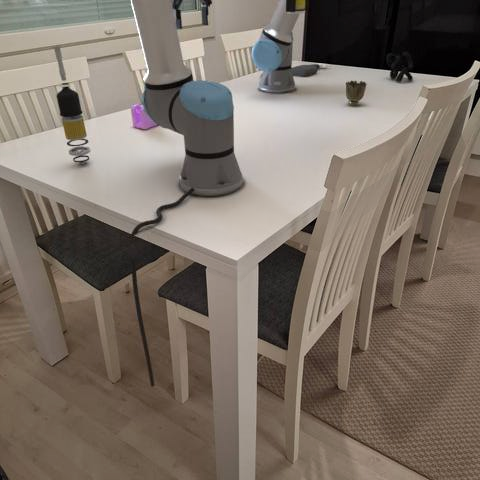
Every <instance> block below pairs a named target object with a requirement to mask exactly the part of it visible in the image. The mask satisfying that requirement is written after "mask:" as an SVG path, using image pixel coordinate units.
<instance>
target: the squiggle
mask: <svg viewBox="0 0 480 480" xmlns="http://www.w3.org/2000/svg"><path fill="white" fill-rule="evenodd" d="M401 57H402V59H401ZM391 59H392V60H391ZM393 60H394V61H393ZM385 61H386V64H387V67H390V68H391V70H390V72H389V78H390V79H391V80H395V79H396V81H397V82H399V83H400V82H402V81H403V79H404V76H406V78H407V80H408V81H412V80H413V79H414V77H413V75H412V74H411V73H410V72H409V71H410V70H412V69H413V68H414V64H413V61H412V57H411V54H410V53H409V52H408V51H403V53H402V54H401V55H396V54H394V53H392V52H390V53H387V55H386V57H385ZM406 62H407V65H408V66H407V67H405V66H404V65H405V64H406ZM400 70H401V71H400Z"/></svg>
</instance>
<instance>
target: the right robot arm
mask: <svg viewBox="0 0 480 480" xmlns="http://www.w3.org/2000/svg"><path fill="white" fill-rule="evenodd" d="M183 1H184V0H171V2H172V7H173V12H174V17H175V22H176V27H177V30H182V29H183V22H182V10H181V9H180V7H181V5H182V4H183ZM199 2H200V3H201V7H200V9H201V25H202V26H209V17H208V16H209V15H210V13H209V8H210V7H211V5H213V0H199ZM299 17H300V14H289V13H288V12H286V0H279V1H278V4H277V5H276V7H275V10H274V12H273V15H272V17H271V19H270V20H271V21H270V22H269V24H268V25H265V26H263V28H262V31H261V33H260V36H259V38H258V40H257V41H256V42H255V43H254V45H253V46H252V50H251V60H252V62H253V64H254V66H255V68H256V69H258V70H260V71H262V73H261V75H260V77H261V78H260V80H259V86H258V88H259V90H260V91H262V92H264V93H270V94H283V93H284V94H285V93H290V92H293V91H295V90H296V81H295V78H294V75H293V74H292V67H293V66H292V65H293V48H294V47H293V46H294V45H293V44H294V33H293V30H294V27H295V26H296V23H297V21H298V19H299Z"/></svg>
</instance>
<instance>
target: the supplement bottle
mask: <svg viewBox="0 0 480 480" xmlns="http://www.w3.org/2000/svg"><path fill="white" fill-rule="evenodd" d="M305 12H306V11H305V0H296V7H295V12H288V13H289V14H299V15H300V14H305Z"/></svg>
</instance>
